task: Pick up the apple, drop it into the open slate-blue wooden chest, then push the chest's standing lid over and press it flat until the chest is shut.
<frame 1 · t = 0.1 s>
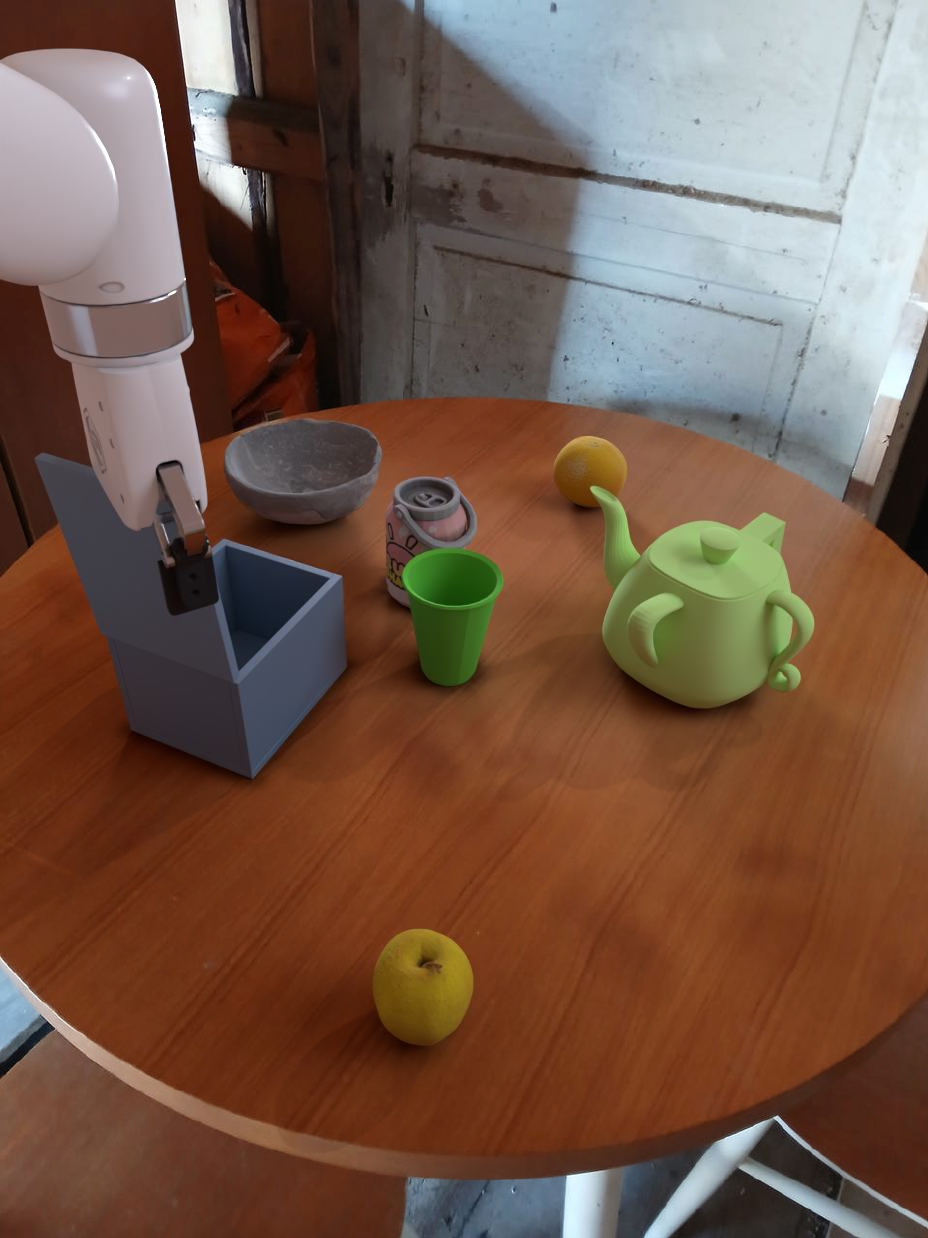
hand: (170, 567, 61), 22 cm above the table, tool pointing down, fingers open, 9 cm apart
teapot: (674, 650, 90), on the table
fruit: (585, 501, 112), on the table
apple: (422, 1019, 60), on the table
lid: (143, 574, 64), point 19 cm above the table, hinge at 95.2°
cup: (448, 670, 87), on the table
bowl: (307, 510, 108), on the table
chest: (243, 697, 82), on the table
beverage can: (428, 593, 96), on the table
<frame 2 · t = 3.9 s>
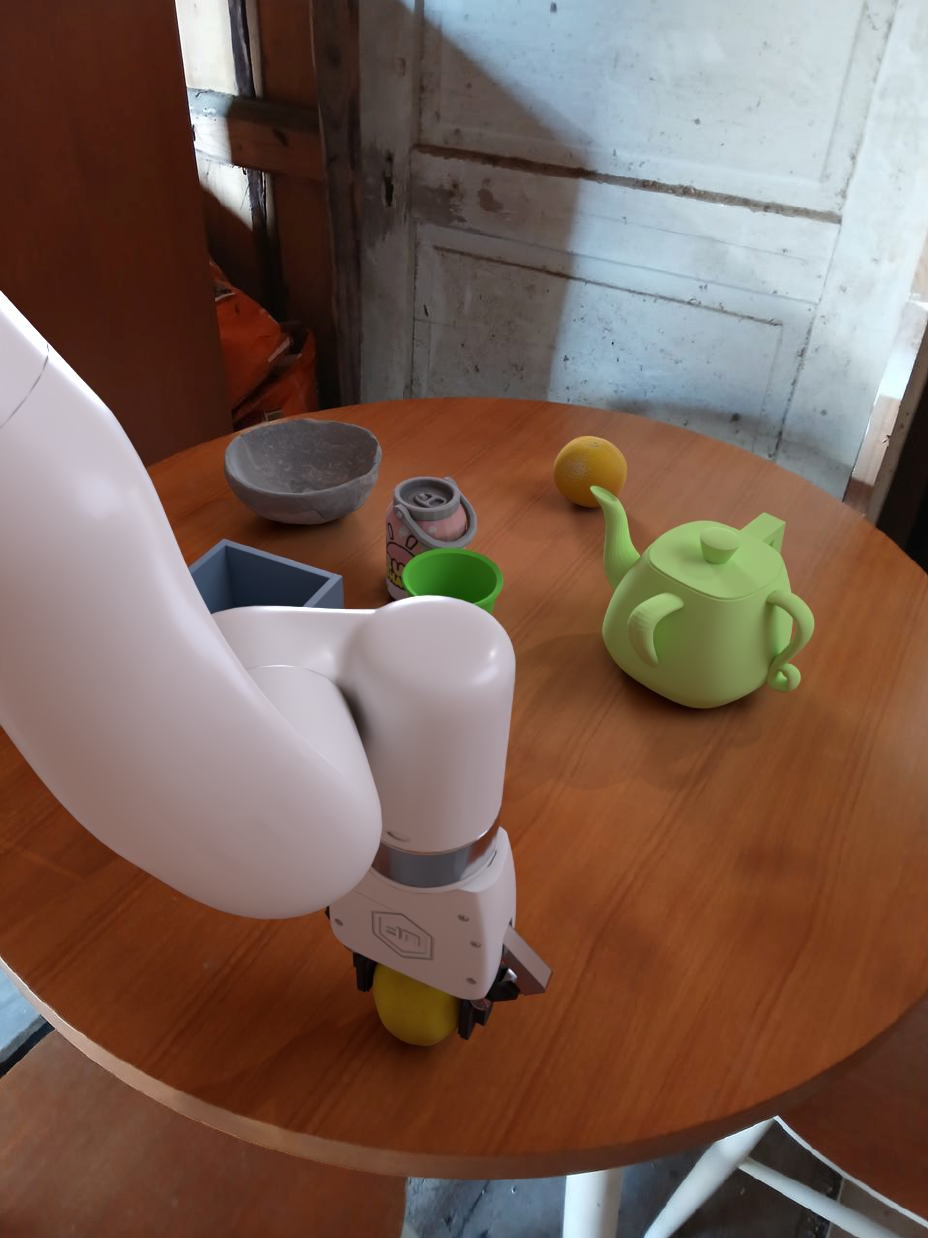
hand: (422, 994, 58), 3 cm above the table, tool pointing down, fingers closed on apple, 6 cm apart
apple: (422, 1019, 60), on the table, touching gripper
lid: (124, 595, 63), point 19 cm above the table, hinge at 110.4°
everything else where it was.
when the fingers open (12 cm above the table, at t = 12.7 s): apple drops 9 cm, resting on chest.
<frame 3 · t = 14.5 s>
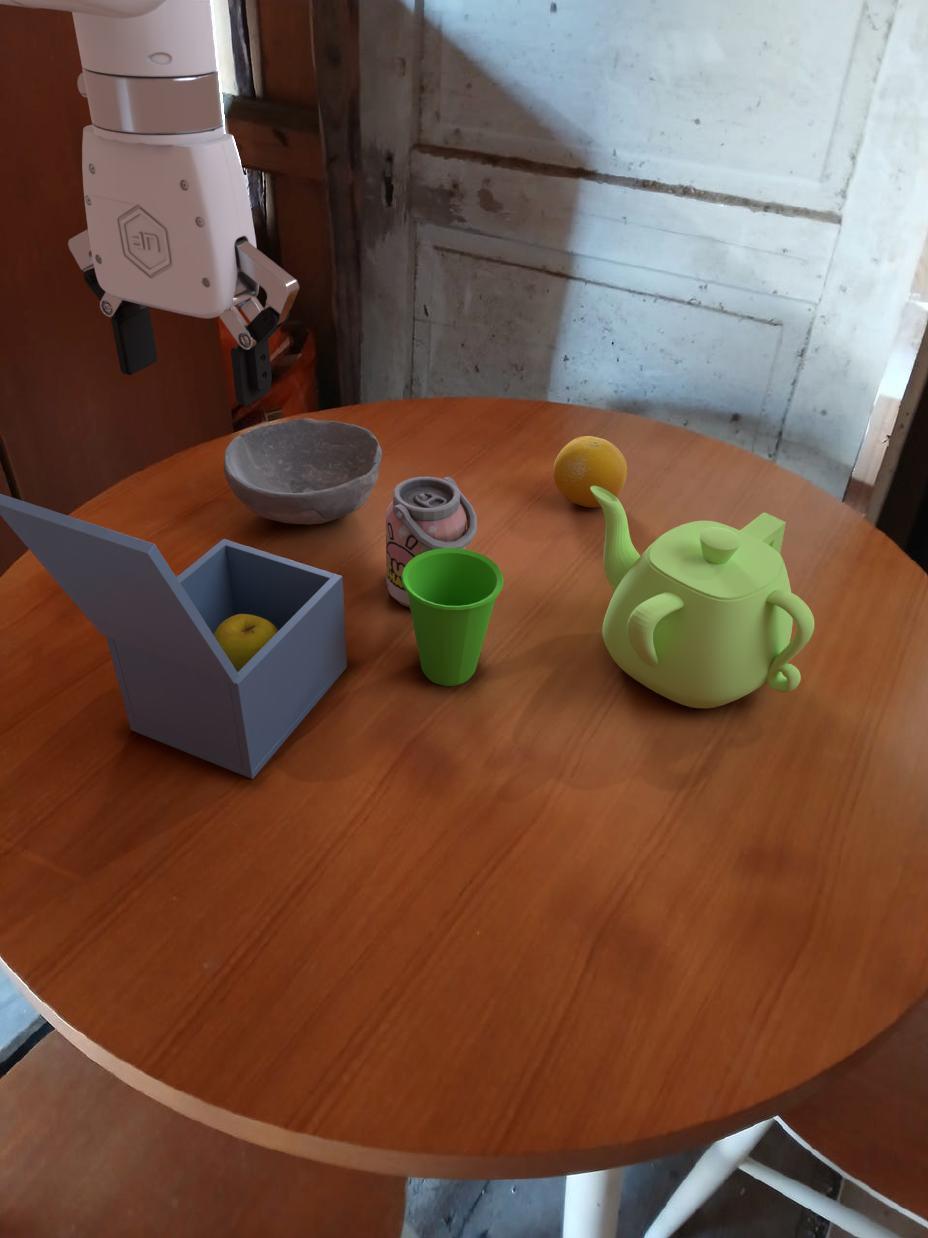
hand: (196, 382, 63), 30 cm above the table, tool pointing down, fingers open, 9 cm apart
apple: (253, 688, 83), point 1 cm above the table, touching chest
everything else where it was.
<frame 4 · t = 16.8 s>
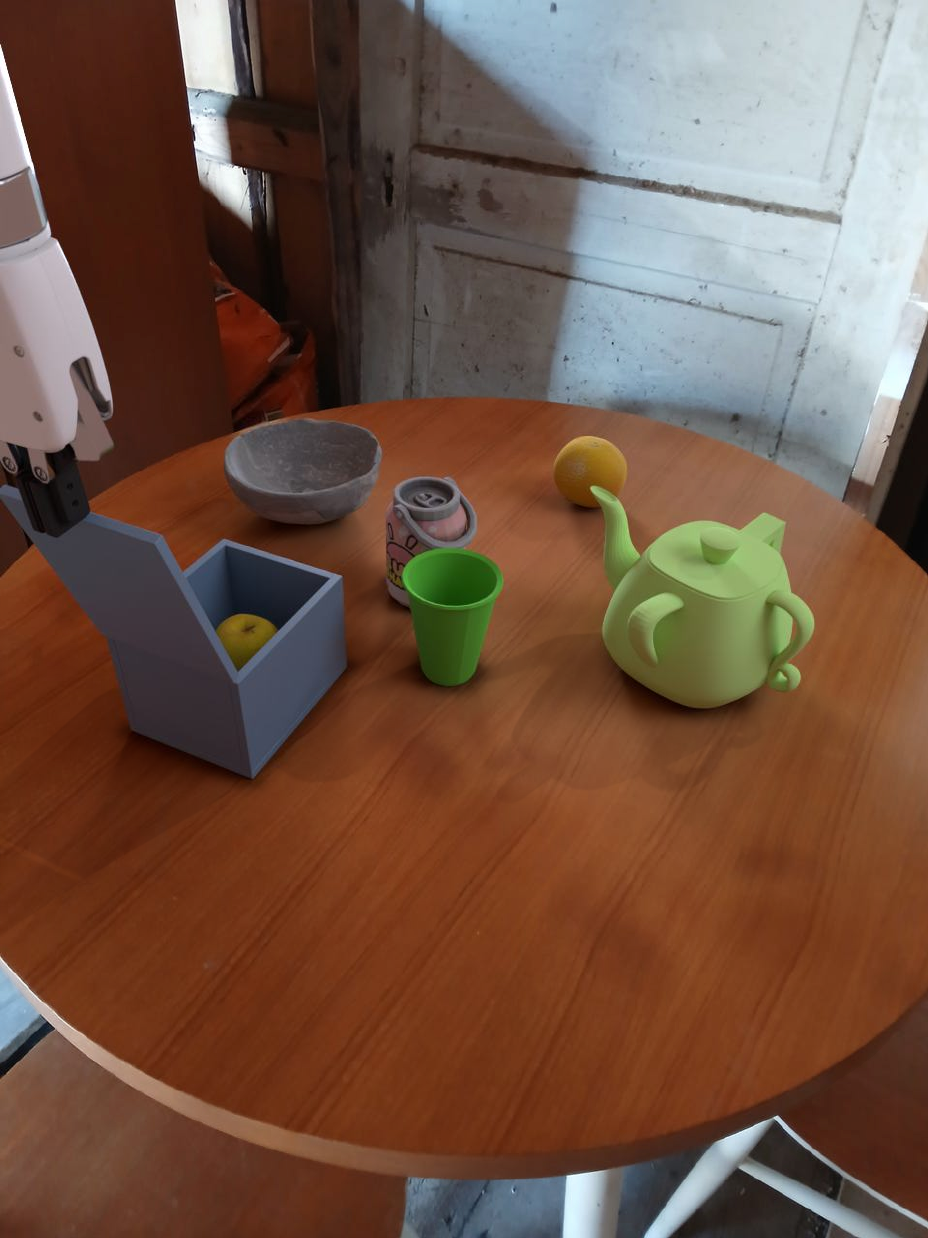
hand: (63, 522, 55), 27 cm above the table, tool pointing down, fingers closed
lid: (127, 591, 63), point 19 cm above the table, hinge at 107.7°, touching gripper
everything else where it was.
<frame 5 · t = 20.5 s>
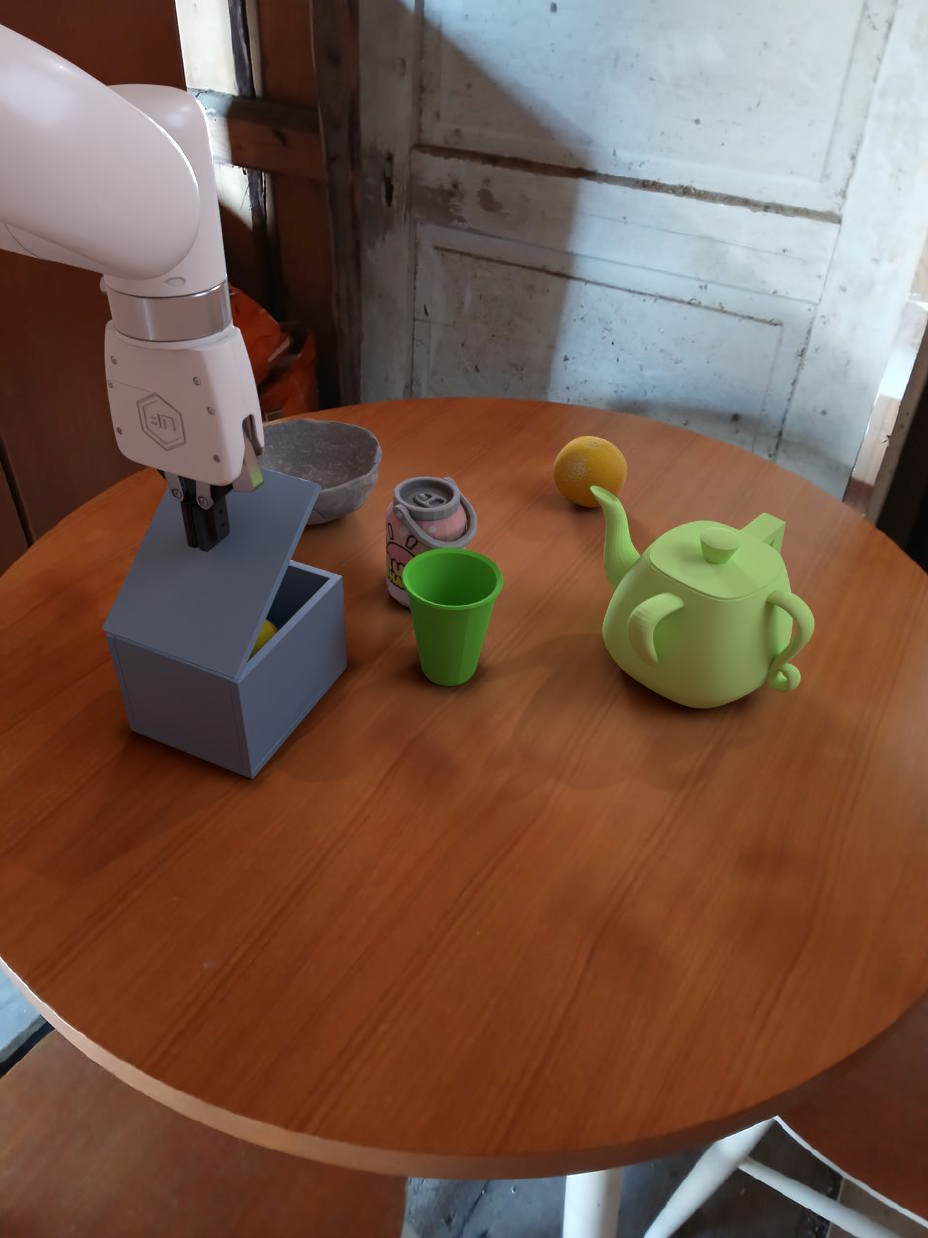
hand: (209, 540, 70), 18 cm above the table, tool pointing down, fingers closed
lid: (211, 558, 71), point 16 cm above the table, hinge at 37.7°
everything else where it was.
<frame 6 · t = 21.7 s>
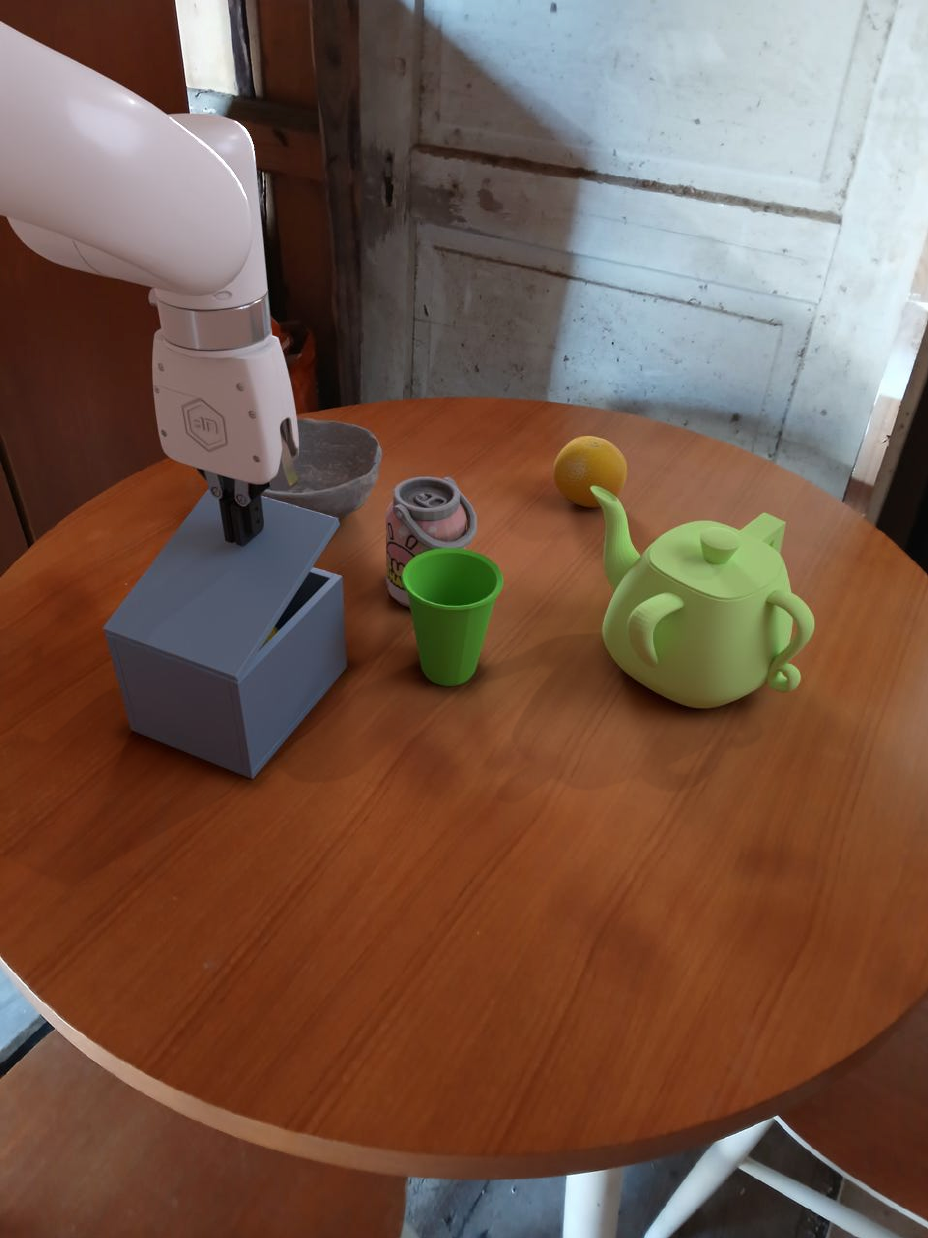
hand: (244, 535, 75), 16 cm above the table, tool pointing down, fingers closed
lid: (225, 574, 74), point 14 cm above the table, hinge at 18.7°, touching gripper
everything else where it was.
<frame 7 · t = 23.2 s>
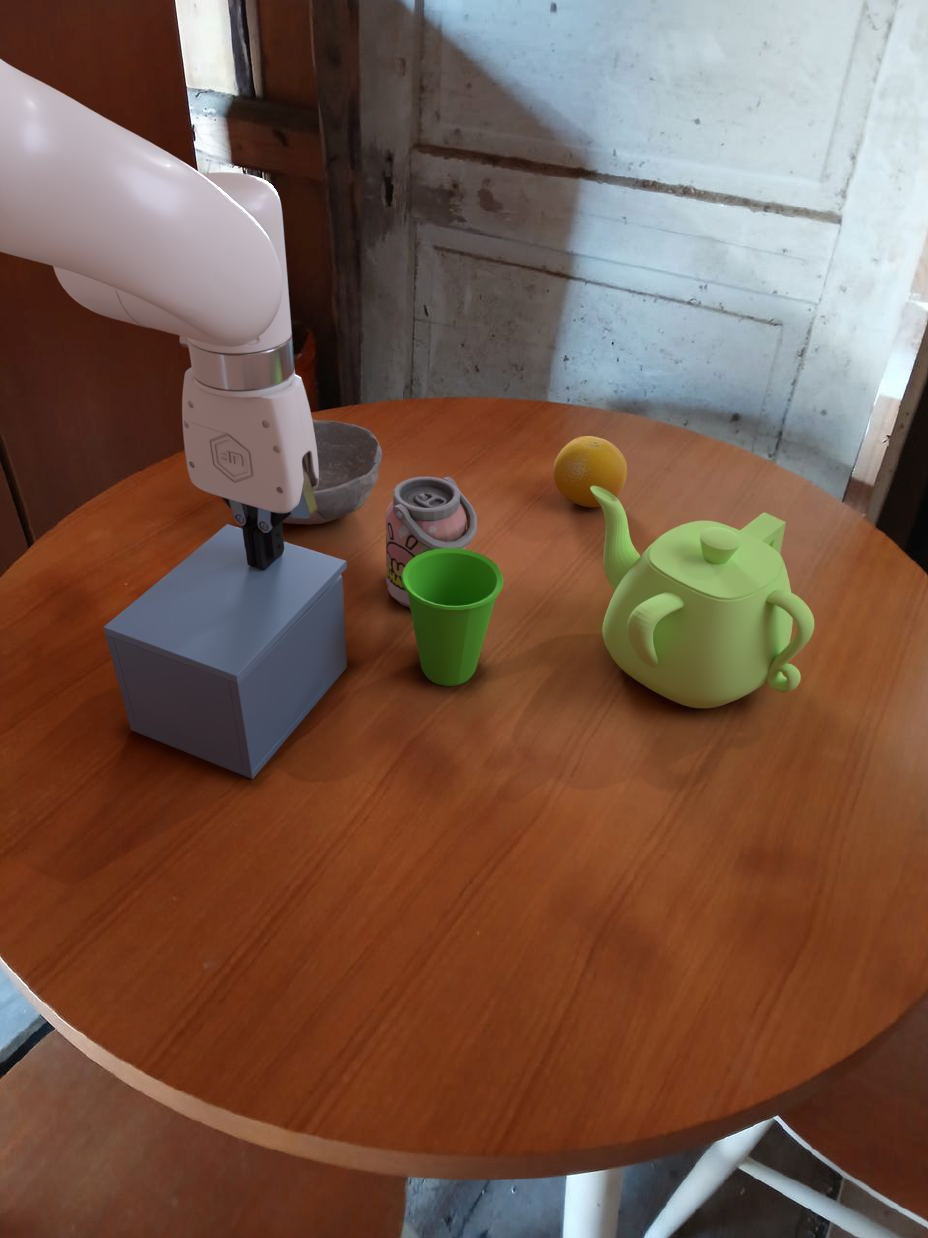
hand: (266, 559, 79), 12 cm above the table, tool pointing down, fingers closed
lid: (231, 595, 76), point 11 cm above the table, hinge at 1.0°, touching gripper
everything else where it was.
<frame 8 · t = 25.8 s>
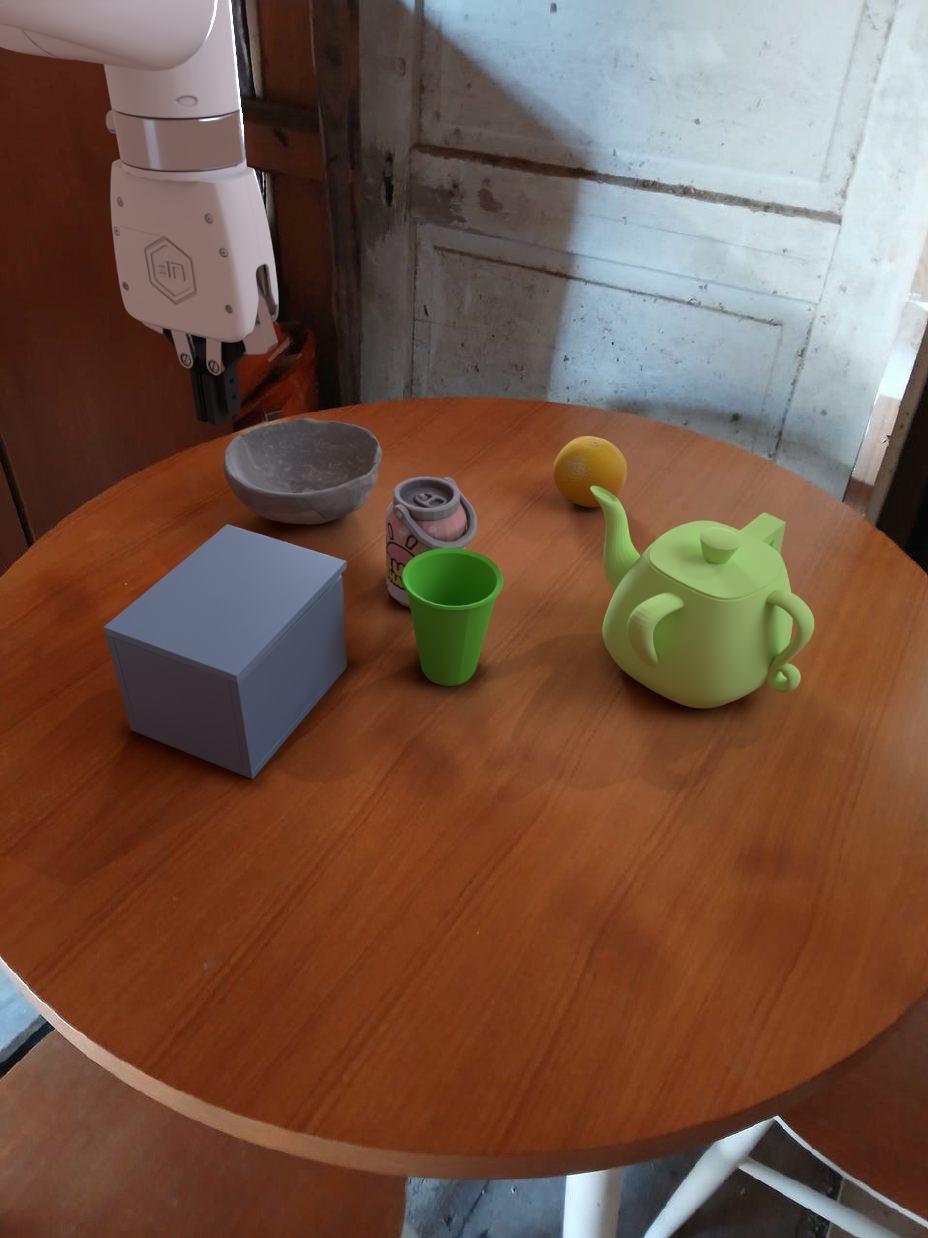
hand: (219, 415, 67), 27 cm above the table, tool pointing down, fingers closed
lid: (231, 595, 76), point 11 cm above the table, hinge at 1.0°
everything else where it was.
at the end: apple inside the target area in the chest (1.0 cm from its centre), point 0.6 cm above the chest's base; lid at +1° (first picture: +95°) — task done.
